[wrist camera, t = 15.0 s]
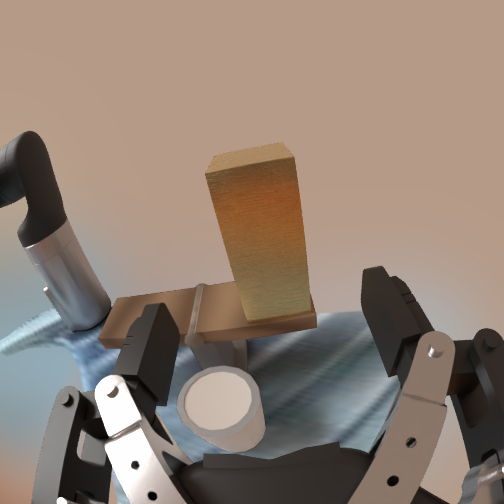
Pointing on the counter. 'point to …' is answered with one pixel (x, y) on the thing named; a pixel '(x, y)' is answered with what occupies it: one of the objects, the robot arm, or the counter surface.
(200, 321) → the beam
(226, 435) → the beige short cylinder
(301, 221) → the block
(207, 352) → the beam stand
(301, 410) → the counter surface
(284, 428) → the counter surface
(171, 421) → the counter surface
